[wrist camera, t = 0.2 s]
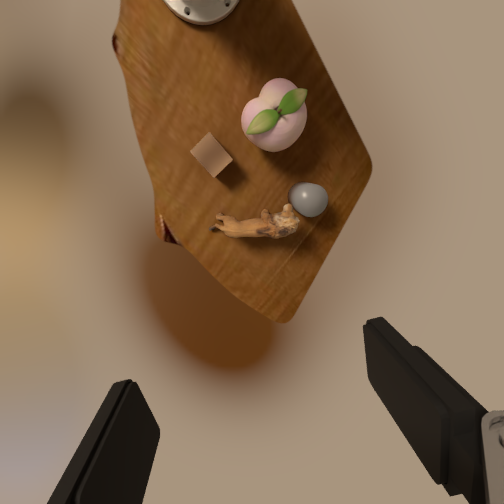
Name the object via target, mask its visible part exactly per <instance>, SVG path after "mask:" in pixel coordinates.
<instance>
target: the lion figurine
mask: <svg viewBox="0 0 504 504" xmlns="http://www.w3.org/2000/svg"><path fill="white" fill-rule="evenodd" d="M216 219H217V220H222V221H223V223H224V226H221V225H219V224H215V225H214V226H211V227H210V228H209V230H210V231H211V230H213V229H215V228H216V227H217V228H219V229H220V230H222V231H224V233H225V234H226V235H227V236H228V237H231V238H239V237H262V236H267V237H271V238H273V239H276V238H277V239H278V238H280V237H286V236H287V235H290V234H292V233H293V232H296V229H297V228H298V223H299V222H300V221H299V219H298V217H295V215H294V213H293V207H292V205H291V204H287V205H285V206H284V208H283V211H282V212H281V213H275V214H269V211H268V210H266V209H264V210H263V211H262V212H261V218H254V219H248V220H244V221H238V220H236V219H235V218H234V217H231V216H224V215H223V214H222V213H218V214H217V215H216Z"/></svg>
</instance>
